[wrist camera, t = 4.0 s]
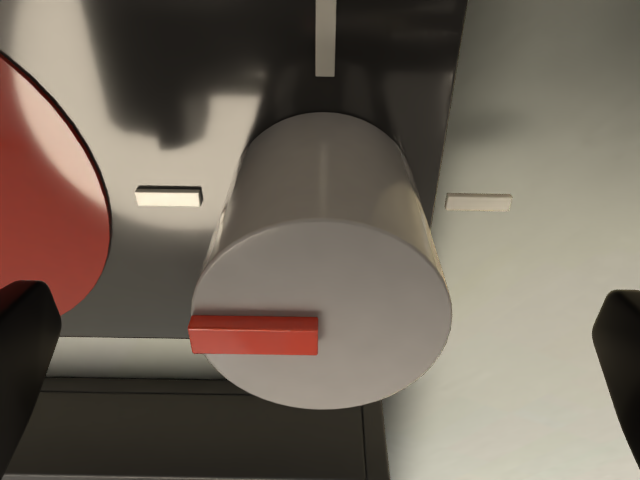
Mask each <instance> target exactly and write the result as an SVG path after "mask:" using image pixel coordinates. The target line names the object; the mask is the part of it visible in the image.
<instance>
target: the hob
mask: <svg viewBox="0 0 640 480" xmlns="http://www.w3.org/2000/svg"><path fill="white" fill-rule="evenodd" d="M467 3H468V0H0V54H2V55H3V56H4V57H6V58H7V59H8V60H9V61H10V62H12V63H13V64H14V65H15V66H16V67H17V68H19V69H20V70H21V71H22V72H23V73H24V74H26V75H27V76H28V77H29V78H30V79H31V80H32V81H33V82H34V83H35V84H36V85H37V86H38V87H39V88H40V89H41V90H42V91H43V92H44V93H45V94H46V95H47V96H48V97H49V98H50V99H51V100H52V101H53V103H54V104H55V105H56V106H57V108H58V109H59V110H60V111H61V113H62V114H63V115H64V116H65V118H66V119H67V120H68V121H69V123H70V124H71V125H72V127H73V128H74V130H75V131H76V133H77V134H78V136H79V137H80V139H81V141H82V142H83V144H84V145H85V147H86V148H87V150H88V152H89V154H90V156H91V158H92V160H93V162H94V164H95V166H96V168H97V170H98V173H99V175H100V178H101V181H102V184H103V187H104V190H105V193H106V196H107V201H108V206H109V211H110V218H111V241H110V249H109V255H108V258H107V261H106V264H105V267H104V270H103V272H102V274H101V276H100V277H99V279H98V281H97V283H96V285H95V286H94V288H93V289H92V290H91V291H90V292H89V294H88V295H87V296H86V297H85V298H84V299H83V300H82V301H81V302H80V303H79V304H77V305H76V306H75V307H74V308H73V309H71V310H69V311H68V312H66V313H64V314H63V315H61V322H62V327H61V332H60V336H59V337H112V338H174V339H190V338H189V333H188V325H189V322H190V319H191V303H192V297H193V293H194V289H195V286H196V283H197V280H198V277H199V274H200V271H201V268H202V266H203V263H204V260H205V257H206V254H207V251H208V248H209V245H210V242H211V239H212V236H213V233H214V230H215V228H216V225H217V222H218V219H219V216H220V213H221V210H222V207H223V204H224V201H225V198H226V195H227V192H228V189H229V187H230V184H231V181H232V178H233V175H234V172H235V169H236V166H237V164H238V162H239V160H240V158H241V156H242V154H243V153H244V151H245V150H246V148H247V147H248V146H249V145H250V144H251V142H252V141H253V140H254V139H255V138H256V137H257V136H259V135H260V134H261V133H262V132H263V131H265V130H266V129H268V128H269V127H271V126H272V125H274V124H276V123H278V122H280V121H282V120H285V119H287V118H290V117H294V116H297V115H301V114H307V113H316V112H330V113H340V114H344V115H349V116H353V117H356V118H358V119H361V120H364V121H366V122H368V123H370V124H372V125H374V126H375V127H377V128H378V129H380V130H381V131H383V132H384V133H385V134H387V135H388V136H389V137H390V138H391V139H392V140H393V141H394V142H395V143H396V144H397V146H398V147H399V148H400V149H401V151H402V152H403V154H404V156H405V157H406V159H407V161H408V163H409V166H410V168H411V171H412V174H413V177H414V180H415V184H416V187H417V190H418V193H419V197H420V200H421V203H422V206H423V209H424V213H425V216H426V219H427V222H428V226H429V229H430V230H431V224H432V218H433V212H434V206H435V200H436V194H437V187H438V181H439V175H440V169H441V163H442V157H443V151H444V144H445V138H446V132H447V126H448V120H449V114H450V108H451V101H452V95H453V89H454V83H455V77H456V71H457V65H458V58H459V52H460V46H461V40H462V34H463V28H464V22H465V16H466V9H467ZM511 202H512V196H511V194H468V193H447V195H446V201H445V209H446V210H456V211H509V209H510V206H511Z"/></svg>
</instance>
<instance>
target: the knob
mask: <svg viewBox="0 0 640 480" xmlns="http://www.w3.org/2000/svg"><path fill="white" fill-rule="evenodd" d="M451 323H452V303H451V299H450V295H449V290H448V287H447V284H446V281H445V277H444V274H443V271H442V268H441V265H440V261H439V258H438V255H437V252H436V248H435V245H434V242H433V239H432V235H431V232H430V229H429V226H428V222H427V219H426V216H425V213H424V209H423V206H422V203H421V200H420V197H419V193H418V190H417V187H416V184H415V180H414V177H413V174H412V171H411V168H410V166H409V163H408V161H407V159H406V157H405V156H404V154H403V152H402V151H401V149H400V148H399V147H398V146H397V144H396V143H395V142H394V141H393V140H392V139H391V138H390V137H389V136H388V135H387V134H385V133H384V132H383V131H381V130H380V129H378V128H377V127H375V126H374V125H372V124H370V123H368V122H366V121H364V120H361V119H358V118H356V117H353V116H349V115H344V114H340V113H330V112H316V113H307V114H301V115H297V116H294V117H290V118H287V119H285V120H282V121H280V122H278V123H276V124H274V125H272V126H271V127H269V128H268V129H266V130H265V131H263V132H262V133H261V134H260V135H259V136H257V137H256V138H255V139H254V140H253V141H252V142H251V144H250V145H249V146H248V147H247V148H246V150H245V151H244V153H243V154H242V156H241V158H240V160H239V162H238V164H237V166H236V169H235V172H234V175H233V178H232V181H231V184H230V187H229V189H228V192H227V195H226V198H225V201H224V204H223V207H222V210H221V213H220V216H219V219H218V222H217V225H216V228H215V230H214V233H213V236H212V239H211V242H210V245H209V248H208V251H207V254H206V257H205V260H204V263H203V266H202V268H201V271H200V274H199V277H198V280H197V283H196V286H195V289H194V293H193V297H192V303H191V319H190V322H189V325H188V333H189V338H190V343H191V348H192V352H193V353H194V354H204V355H205V357H206V358H207V360H208V361H209V362H210V363H211V364H212V365H213V367H214V368H215V369H216V370H217V371H218V372H219V373H220V374H222V375H223V376H224V377H225V378H226V379H227V380H229V381H230V382H232V383H233V384H235V385H236V386H237V387H239V388H241V389H243V390H245V391H246V392H248V393H250V394H252V395H255V396H257V397H259V398H262V399H264V400H267V401H270V402H274V403H277V404H281V405H285V406H290V407H296V408H303V409H317V410H327V409H342V408H350V407H356V406H361V405H365V404H369V403H372V402H376V401H379V400H381V399H384V398H386V397H389V396H391V395H393V394H395V393H397V392H399V391H401V390H403V389H404V388H406V387H408V386H409V385H411V384H412V383H414V382H415V381H416V380H417V379H419V378H420V377H421V376H422V375H424V374H425V373H426V372H427V371H428V369H429V368H430V367H431V366H432V365H433V364H434V363H435V361H436V360H437V359H438V357H439V356H440V354H441V353H442V351H443V349H444V347H445V345H446V343H447V339H448V336H449V333H450V330H451Z"/></svg>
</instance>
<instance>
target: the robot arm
mask: <svg viewBox="0 0 640 480" xmlns="http://www.w3.org/2000/svg"><path fill="white" fill-rule="evenodd" d="M61 327H62V322H61V316H60V314H59V311H58V309H57V306H56V304H55V301H54V298H53V296H52V293H51V291H50V288H49V286H48V285H47V284H46V283H45V282H44V281H41V280H17V281H14V282H12V283H10V284H9V285H7V286H5V287H3V288H1V289H0V480H1V479H2V477H3V475H4V473H5V471H6V469H7V467H8V465H9V463H10V461H11V458H12V456H13V454H14V452H15V450H16V448H17V446H18V444H19V442H20V439H21V437H22V435H23V433H24V431H25V429H26V426H27V424H28V422H29V420H30V417H31V415H32V412H33V410H34V407H35V404H36V402H37V399H38V396H39V393H40V390H41V387H42V385H43V382H44V379H45V376H46V373H47V370H48V367H49V364H50V362H51V359H52V356H53V353H54V350H55V347H56V344H57V341H58V339H59V336H60V332H61ZM592 338H593V343H594V346H595V349H596V352H597V356H598V359H599V362H600V365H601V368H602V371H603V374H604V377H605V380H606V383H607V386H608V389H609V392H610V396H611V399H612V402H613V405H614V408H615V411H616V414H617V417H618V419H619V422H620V425H621V428H622V430H623V433H624V435H625V437H626V440H627V442H628V444H629V447H630V449H631V451H632V453H633V456H634V458H635V460H636V462H637V464H638V467H639V469H640V291H639V290H613V291H611V292H610V293H609V294H608V295H607V296H606V298H605V301H604V303H603V305H602V307H601V310H600V312H599V314H598V316H597V319H596V321H595V323H594V326H593V330H592Z"/></svg>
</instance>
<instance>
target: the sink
mask: <svg viewBox="0 0 640 480" xmlns="http://www.w3.org/2000/svg"><path fill="white" fill-rule="evenodd" d="M1 480H390V474H389V464H388V455H387V446H386V436H385V427H384V418H383V408H382V400H379V401H376V402H372V403H369V404H365V405H361V406H356V407H350V408H342V409H327V410H317V409H303V408H296V407H290V406H285V405H281V404H277V403H274V402H270V401H267V400H264V399H262V398H259V397H257V396H255V395H252V394H250V393H248V392H246V391H245V390H243V389H241V388H239V387H237V386H236V385H235V384H233V383H232V382H230V381H228V380H167V379H107V378H46V377H45V379H44V382H43V385H42V387H41V390H40V393H39V396H38V399H37V402H36V404H35V407H34V410H33V412H32V415H31V417H30V420H29V422H28V424H27V426H26V429H25V431H24V433H23V435H22V437H21V439H20V442H19V444H18V446H17V448H16V450H15V452H14V454H13V456H12V458H11V461H10V463H9V465H8V467H7V469H6V471H5V473H4V475H3V477H2V479H1Z"/></svg>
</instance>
